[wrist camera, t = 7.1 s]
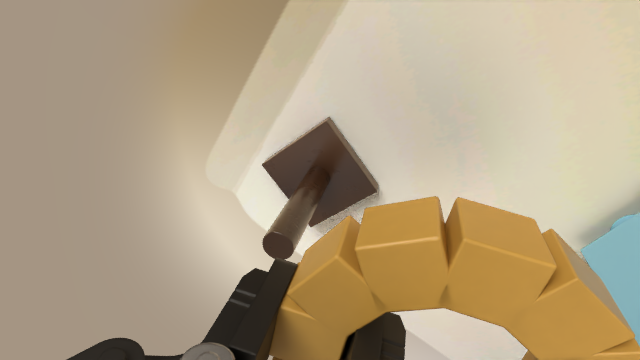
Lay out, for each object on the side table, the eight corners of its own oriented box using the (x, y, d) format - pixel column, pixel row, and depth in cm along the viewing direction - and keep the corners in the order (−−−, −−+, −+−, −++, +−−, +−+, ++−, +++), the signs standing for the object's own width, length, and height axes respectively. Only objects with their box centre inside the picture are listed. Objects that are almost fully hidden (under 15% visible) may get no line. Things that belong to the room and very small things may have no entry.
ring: (238, 305, 14) (211, 351, 12) (453, 127, 10) (460, 159, 8) (422, 460, 15) (422, 523, 13) (684, 363, 11) (735, 436, 9)
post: (266, 159, 35) (202, 226, 25) (329, 116, 32) (285, 173, 22) (314, 220, 36) (271, 307, 26) (378, 185, 33) (358, 267, 23)
